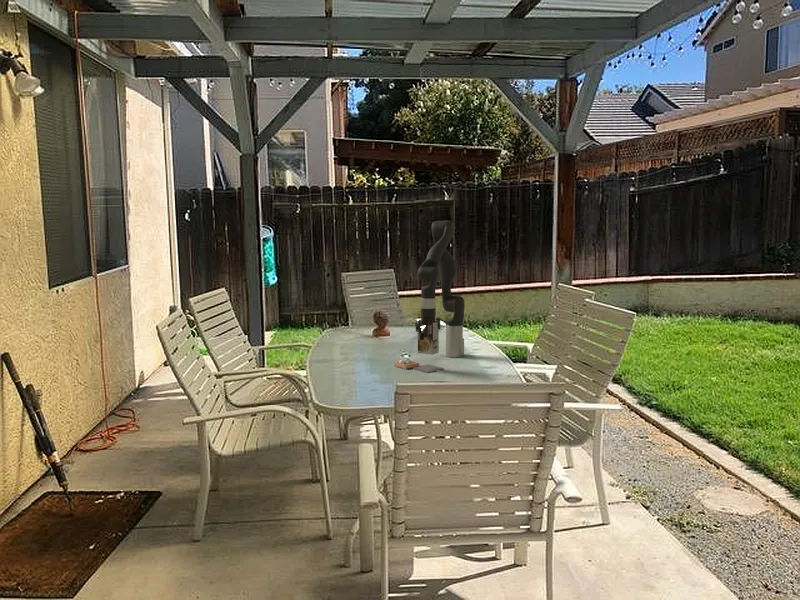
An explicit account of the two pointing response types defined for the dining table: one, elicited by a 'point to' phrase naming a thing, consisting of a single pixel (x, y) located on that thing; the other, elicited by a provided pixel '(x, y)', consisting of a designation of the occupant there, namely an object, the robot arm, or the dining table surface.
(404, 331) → the dining table surface
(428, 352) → the coffee box
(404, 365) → the marble dish
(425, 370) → the rubber mat
